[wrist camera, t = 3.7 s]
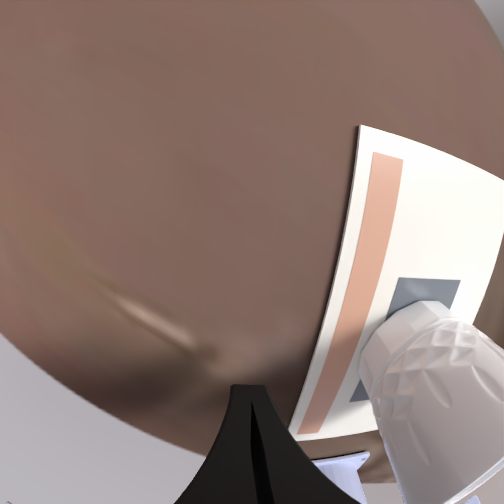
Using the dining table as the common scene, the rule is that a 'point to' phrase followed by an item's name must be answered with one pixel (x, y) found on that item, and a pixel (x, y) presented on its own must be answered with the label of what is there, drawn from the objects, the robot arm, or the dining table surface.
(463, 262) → the menu card
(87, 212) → the dining table surface
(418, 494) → the white cup
